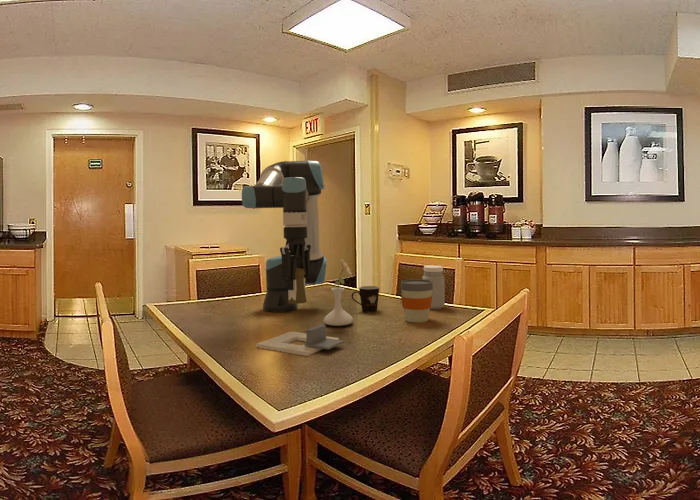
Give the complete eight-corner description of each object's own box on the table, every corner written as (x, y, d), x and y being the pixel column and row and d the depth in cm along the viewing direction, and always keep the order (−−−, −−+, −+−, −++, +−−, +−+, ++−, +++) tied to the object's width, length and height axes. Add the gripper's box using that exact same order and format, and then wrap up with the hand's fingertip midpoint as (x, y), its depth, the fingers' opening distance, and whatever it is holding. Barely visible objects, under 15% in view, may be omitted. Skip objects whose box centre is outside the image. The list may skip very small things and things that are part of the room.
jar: (419, 309, 216) (419, 267, 214) (425, 304, 225) (424, 264, 223) (442, 310, 212) (442, 268, 211) (446, 306, 221) (446, 265, 220)
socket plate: (256, 347, 161) (256, 343, 161) (290, 334, 176) (290, 331, 176) (307, 356, 151) (307, 352, 151) (339, 341, 166) (339, 338, 166)
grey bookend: (304, 345, 157) (303, 329, 156) (320, 338, 164) (320, 323, 164) (328, 349, 152) (328, 333, 152) (344, 342, 160) (343, 326, 159)
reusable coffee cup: (412, 324, 188) (412, 285, 186) (394, 318, 199) (394, 281, 197) (439, 320, 193) (439, 282, 192) (420, 314, 204) (420, 278, 203)
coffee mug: (380, 308, 218) (379, 285, 217) (379, 312, 210) (378, 289, 209) (353, 308, 219) (352, 285, 218) (351, 312, 211) (351, 289, 210)
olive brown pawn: (288, 300, 165) (287, 267, 164) (306, 299, 166) (305, 266, 165) (287, 304, 159) (286, 269, 158) (306, 303, 160) (305, 269, 159)
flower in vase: (343, 329, 182) (341, 261, 180) (317, 326, 188) (315, 259, 186) (361, 322, 193) (360, 257, 191) (336, 319, 199) (335, 256, 197)
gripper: (287, 227, 151) (290, 304, 153) (320, 225, 166) (321, 295, 168) (268, 227, 155) (271, 302, 157) (301, 225, 169) (303, 293, 172)
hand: (297, 298), depth 162 cm, fingers closed on olive brown pawn, 4 cm apart
